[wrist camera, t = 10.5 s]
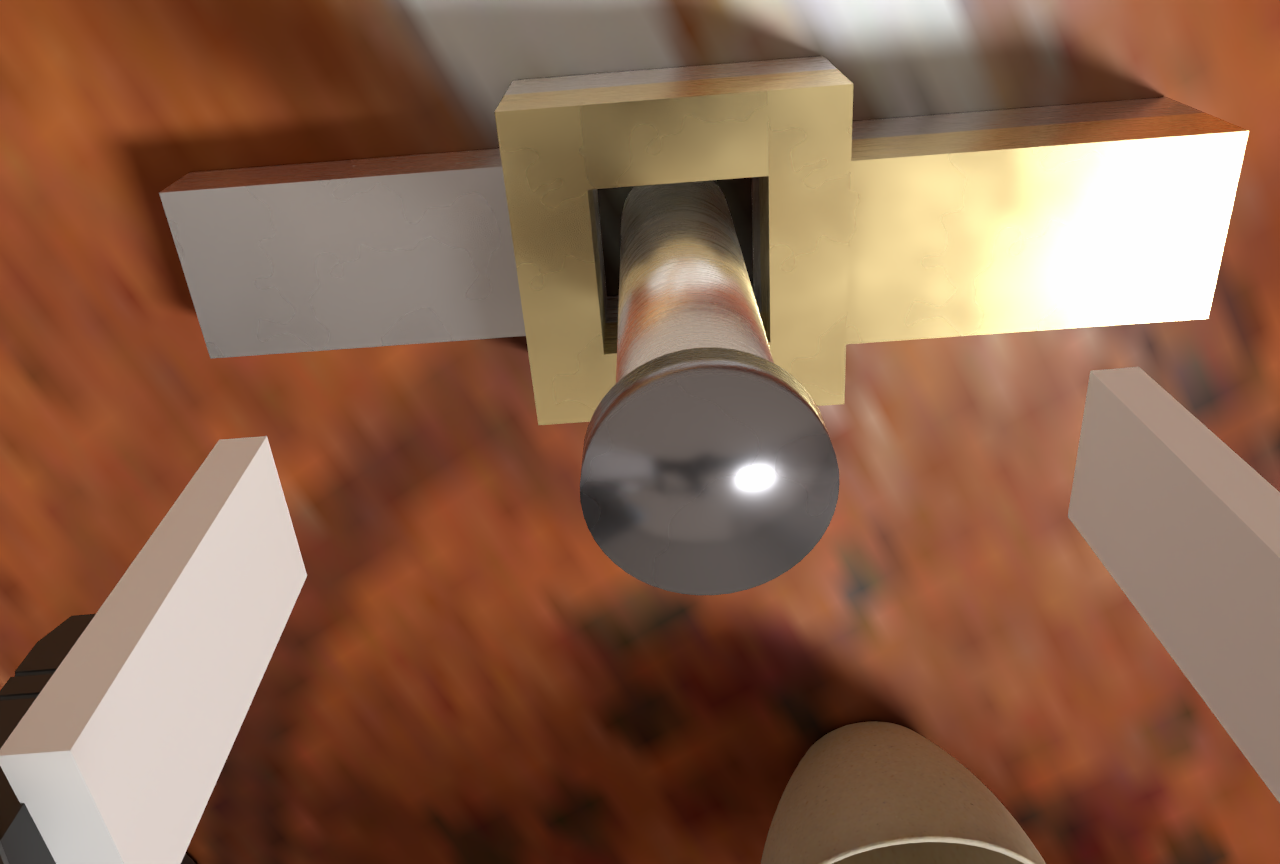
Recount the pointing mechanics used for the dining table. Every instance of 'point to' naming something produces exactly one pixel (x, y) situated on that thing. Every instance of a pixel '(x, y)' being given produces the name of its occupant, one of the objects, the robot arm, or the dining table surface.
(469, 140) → the dining table surface
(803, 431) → the pin
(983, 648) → the dining table surface
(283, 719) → the dining table surface
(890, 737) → the flower pot
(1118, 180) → the bar with brass collar
